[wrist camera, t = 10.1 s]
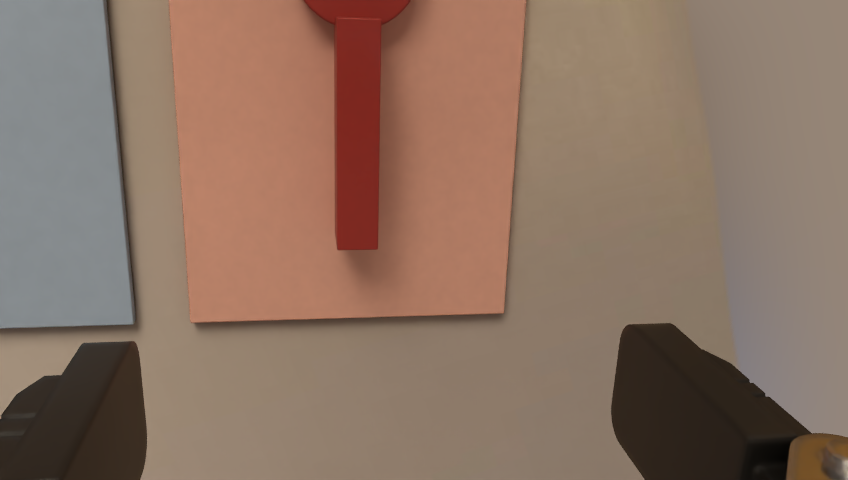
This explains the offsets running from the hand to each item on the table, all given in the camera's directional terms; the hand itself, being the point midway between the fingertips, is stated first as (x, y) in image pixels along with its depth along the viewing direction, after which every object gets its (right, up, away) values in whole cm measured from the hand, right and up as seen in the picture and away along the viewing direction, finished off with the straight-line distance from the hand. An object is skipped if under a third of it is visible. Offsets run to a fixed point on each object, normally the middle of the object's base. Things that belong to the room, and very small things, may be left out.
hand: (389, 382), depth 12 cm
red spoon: (-2, +8, +13) cm, 16 cm away
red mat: (-2, +6, +14) cm, 16 cm away
